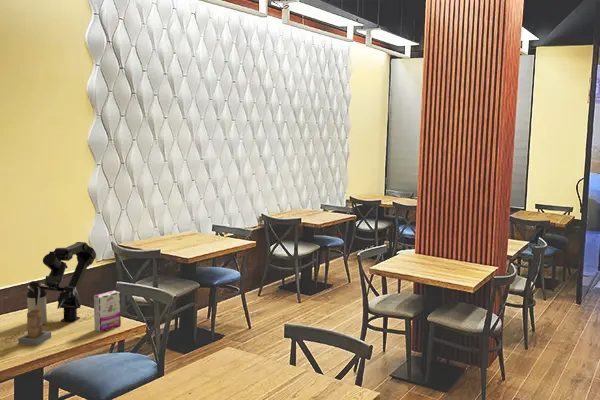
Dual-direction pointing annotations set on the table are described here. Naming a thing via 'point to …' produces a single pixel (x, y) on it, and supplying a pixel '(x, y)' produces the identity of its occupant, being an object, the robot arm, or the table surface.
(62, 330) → the table surface
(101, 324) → the candy bar box
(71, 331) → the table surface
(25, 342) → the slotted holder
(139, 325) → the table surface
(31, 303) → the travel mug
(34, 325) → the walnut post
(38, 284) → the robot arm
